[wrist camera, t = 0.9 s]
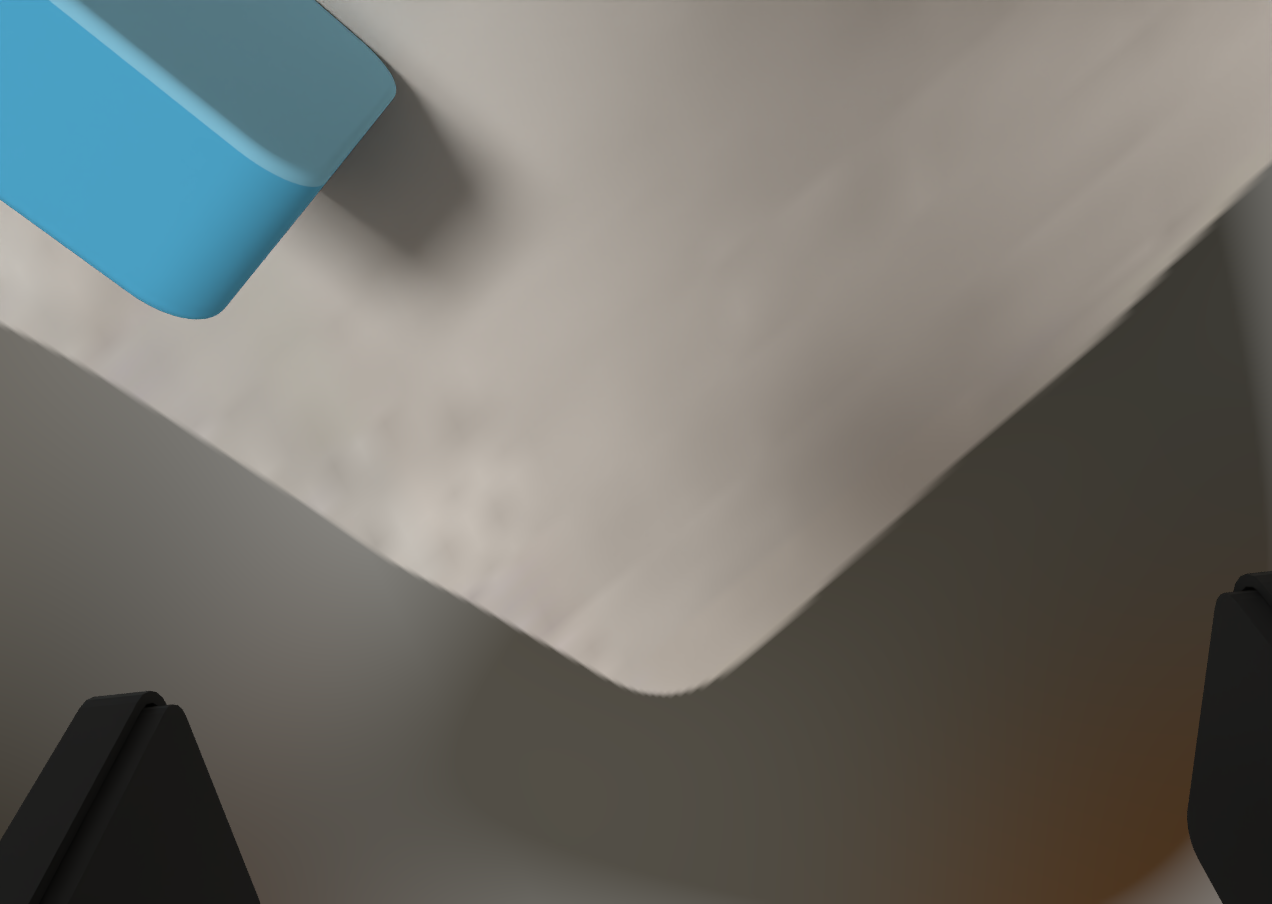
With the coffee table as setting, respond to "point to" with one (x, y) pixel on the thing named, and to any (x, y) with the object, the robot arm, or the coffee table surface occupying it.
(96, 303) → the coffee table surface
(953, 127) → the coffee table surface
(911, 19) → the coffee table surface
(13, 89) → the blue rounded block
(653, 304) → the coffee table surface
